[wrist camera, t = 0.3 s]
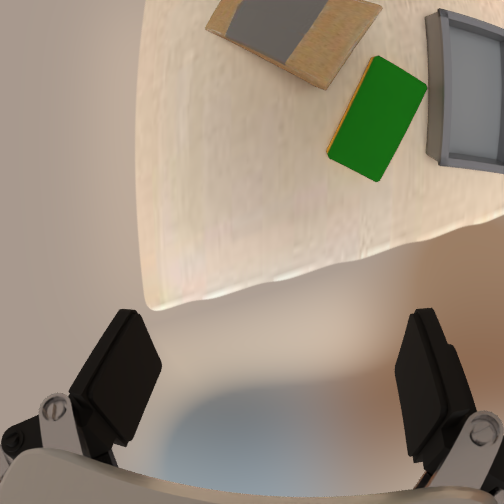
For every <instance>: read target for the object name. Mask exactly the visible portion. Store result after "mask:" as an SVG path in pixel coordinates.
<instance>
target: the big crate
mask: <svg viewBox="0 0 504 504" xmlns="http://www.w3.org/2000/svg"><path fill="white" fill-rule="evenodd" d="M437 10H438V12H436V13H434V14H431V15H429V16H427V17H425V24H426V36H427V51H428V80H429V101H428V131H427V147H426V154H427V155H429V156H430V157H432V158H433V159H435V160H436V161H438V165H440V166H447V167H456V168H465V169H472V170H480V171H487V172H494V173H501V174H504V29H502V28H500V27H497V26H495V25H492V24H489V23H486V22H484V21H481V20H478V19H475V18H472V17H469V16H465V15H462V14H459V13H455V12H452V11H448V10H444V9H440V8H439V9H437Z"/></svg>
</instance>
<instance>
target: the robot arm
mask: <svg viewBox="0 0 504 504" xmlns="http://www.w3.org/2000/svg"><path fill="white" fill-rule="evenodd" d="M161 369H162V363H161V360H160V358H159V356H158V354H157V351H156V349H155V347H154V345H153V342H152V340H151V338H150V335H149V333H148V331H147V328H146V326H145V324H144V322H143V319H142V317H141V315H140V314H138V313H137V311H136V310H130V309H120V310H119V311H118V312H117V314H116V316H115V317H114V318H113V320H112V322H111V323H110V325H109V326H108V328H107V329H106V331H105V332H104V334H103V336H102V337H101V338H100V340H99V342H98V343H97V345H96V346H95V348H94V350H93V351H92V353H91V355H90V356H89V358H88V359H87V361H86V362H85V364H84V366H83V368H82V369H81V371H80V372H79V374H78V376H77V378H76V379H75V381H74V383H73V384H72V386H71V387H70V389H69V393H70V394H69V396H67V395H65V394H63V393H55V394H51V395H50V396H48V397H47V398H45V399H44V400H43V402H42V404H41V405H40V408H39V415H37V416H35V417H32V418H30V419H28V420H25V421H23V422H21V423H19V424H16V425H14V426H11V427H10V428H8V429H7V430H6V431H5V433H4V434H3V436H2V441H1V445H0V504H504V435H503V434H504V428H503V424H502V422H501V420H500V419H499V417H498V416H497V415H495V414H494V413H492V412H489V411H478V412H477V410H476V407H475V403H474V400H473V397H472V394H471V391H470V388H469V385H468V382H467V379H466V376H465V374H464V371H463V368H462V366H461V363H460V360H459V357H458V355H457V352H456V350H455V348H454V346H453V345H451V344H448V343H447V341H446V338H445V336H444V333H443V331H442V328H441V326H440V323H439V321H438V319H437V317H436V314H435V312H434V310H433V309H432V308H424V309H416V310H415V313H414V314H410V316H409V320H408V324H407V328H406V331H405V335H404V338H403V342H402V345H401V348H400V352H399V355H398V358H397V362H396V365H395V377H396V382H397V387H398V393H399V399H400V404H401V409H402V416H403V422H404V429H405V436H406V443H407V450H408V455H409V456H410V457H411V456H413V461H414V463H418V462H423V466H424V470H426V471H425V472H424V474H423V475H422V477H421V478H420V479H419V481H418V482H417V484H416V485H415V487H414V488H413V489H412V490H403V491H396V492H388V493H380V494H368V495H355V496H340V497H279V496H262V495H251V494H241V493H232V492H225V491H218V490H210V489H205V488H199V487H194V486H188V485H184V484H179V483H174V482H169V481H165V480H161V479H157V478H153V477H149V476H145V475H142V474H138V473H135V472H131V471H128V470H124V469H121V468H119V467H118V465H117V462H116V459H115V457H114V454H113V451H112V446H113V443H114V444H117V445H120V446H124V447H126V446H127V444H128V442H129V441H131V440H132V439H133V437H134V435H135V432H136V430H137V427H138V425H139V422H140V420H141V417H142V415H143V413H144V410H145V408H146V405H147V403H148V401H149V398H150V396H151V393H152V391H153V389H154V386H155V384H156V381H157V379H158V377H159V374H160V372H161Z"/></svg>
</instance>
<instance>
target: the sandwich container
mask: <svg viewBox="0 0 504 504" xmlns="http://www.w3.org/2000/svg"><path fill="white" fill-rule="evenodd" d="M382 9H383V8H382V7H381V6H380V5H378V4H374V3H370V2H367V1H363V0H221V1H220V3H219V5H218V6H217V8H216V10H215V11H214V13H213V15H212V17H211V18H210V20H209V22H208V24H207V25H206V27H205V29H206V30H208V31H210V32H212V33H214V34H216V35H218V36H220V37H223V38H225V39H227V40H229V41H231V42H233V43H235V44H237V45H239V46H241V47H242V48H244V49H246V50H248V51H250V52H252V53H254V54H256V55H258V56H259V57H261V58H263V59H265V60H267V61H269V62H271V63H273V64H275V65H277V66H278V67H280V68H282V69H284V70H286V71H288V72H290V73H292V74H294V75H296V76H297V77H299V78H301V79H303V80H305V81H307V82H308V83H310V84H312V85H314V86H315V87H318V88H321V89H323V90H327V88H328V87H329V85H330V84H331V82H332V81H333V79H334V78H335V76H336V75H337V73H338V72H339V70H340V69H341V67H342V66H343V64H344V63H345V61H346V60H347V58H348V57H349V55H350V54H351V52H352V51H353V49H354V48H355V47H356V45H357V44H358V43H359V41H360V40H361V38H362V37H363V35H364V34H365V33H366V31H367V30H368V28H369V27H370V26H371V24H372V23H373V21H374V20H375V19H376V17H377V16H378V15H379V13H380V12H381V10H382Z"/></svg>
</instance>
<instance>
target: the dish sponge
mask: <svg viewBox="0 0 504 504" xmlns="http://www.w3.org/2000/svg"><path fill="white" fill-rule="evenodd" d="M426 90H427V86H426V84H425V83H423V82H421V81H420V80H418V79H417V78H415V77H414V76H412V75H411V74H409V73H407V72H406V71H404V70H403V69H401V68H399V67H398V66H396V65H394V64H393V63H391V62H389V61H387V60H386V59H384V58H382V57H380V56H375V57H372V58H371V59H370V62H369V64H368V66H367V68H366V70H365V72H364V74H363V76H362V78H361V81H360V83H359V85H358V87H357V89H356V91H355V93H354V95H353V97H352V99H351V101H350V103H349V106H348V108H347V110H346V112H345V114H344V116H343V118H342V120H341V122H340V124H339V126H338V128H337V130H336V132H335V134H334V136H333V138H332V140H331V142H330V144H329V146H328V148H327V151H326V152H327V154H328V157H329V158H330V159H332V160H334V161H336V162H338V163H340V164H342V165H344V166H346V167H348V168H350V169H352V170H354V171H356V172H358V173H360V174H362V175H364V176H365V177H367V178H369V179H371V180H373V181H375V182H378V181H380V179H381V178H382V176H383V174H384V172H385V170H386V168H387V167H388V165H389V163H390V161H391V159H392V157H393V156H394V154H395V152H396V150H397V148H398V146H399V144H400V142H401V140H402V138H403V137H404V135H405V133H406V131H407V129H408V127H409V125H410V123H411V121H412V119H413V117H414V115H415V113H416V111H417V109H418V107H419V105H420V103H421V101H422V98H423V96H424V94H425V92H426Z"/></svg>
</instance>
